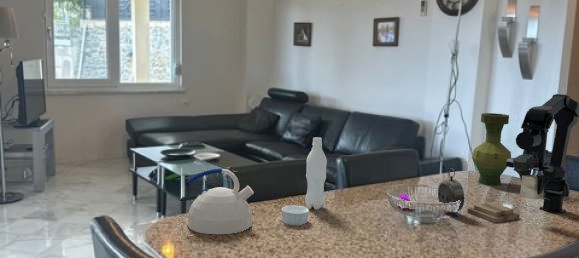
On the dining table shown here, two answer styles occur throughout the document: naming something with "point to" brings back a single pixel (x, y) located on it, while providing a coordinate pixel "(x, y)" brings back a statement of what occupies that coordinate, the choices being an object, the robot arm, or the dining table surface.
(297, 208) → the ramekin
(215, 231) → the kettle
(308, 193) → the water bottle
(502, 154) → the vase
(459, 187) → the alarm clock
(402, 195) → the crystal
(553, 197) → the robot arm
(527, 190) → the block
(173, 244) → the dining table surface
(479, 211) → the plinth
